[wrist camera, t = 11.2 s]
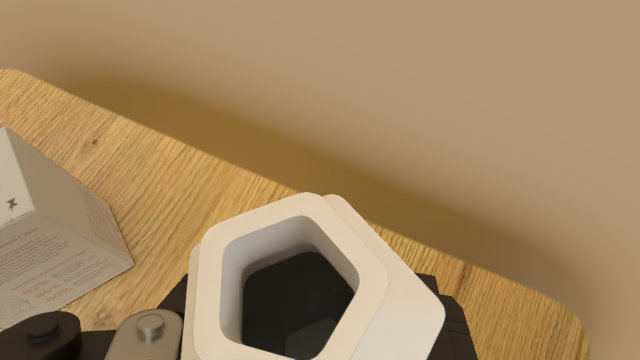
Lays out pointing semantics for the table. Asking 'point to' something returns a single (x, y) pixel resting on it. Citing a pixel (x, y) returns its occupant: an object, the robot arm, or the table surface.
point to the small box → (50, 234)
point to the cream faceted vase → (304, 289)
